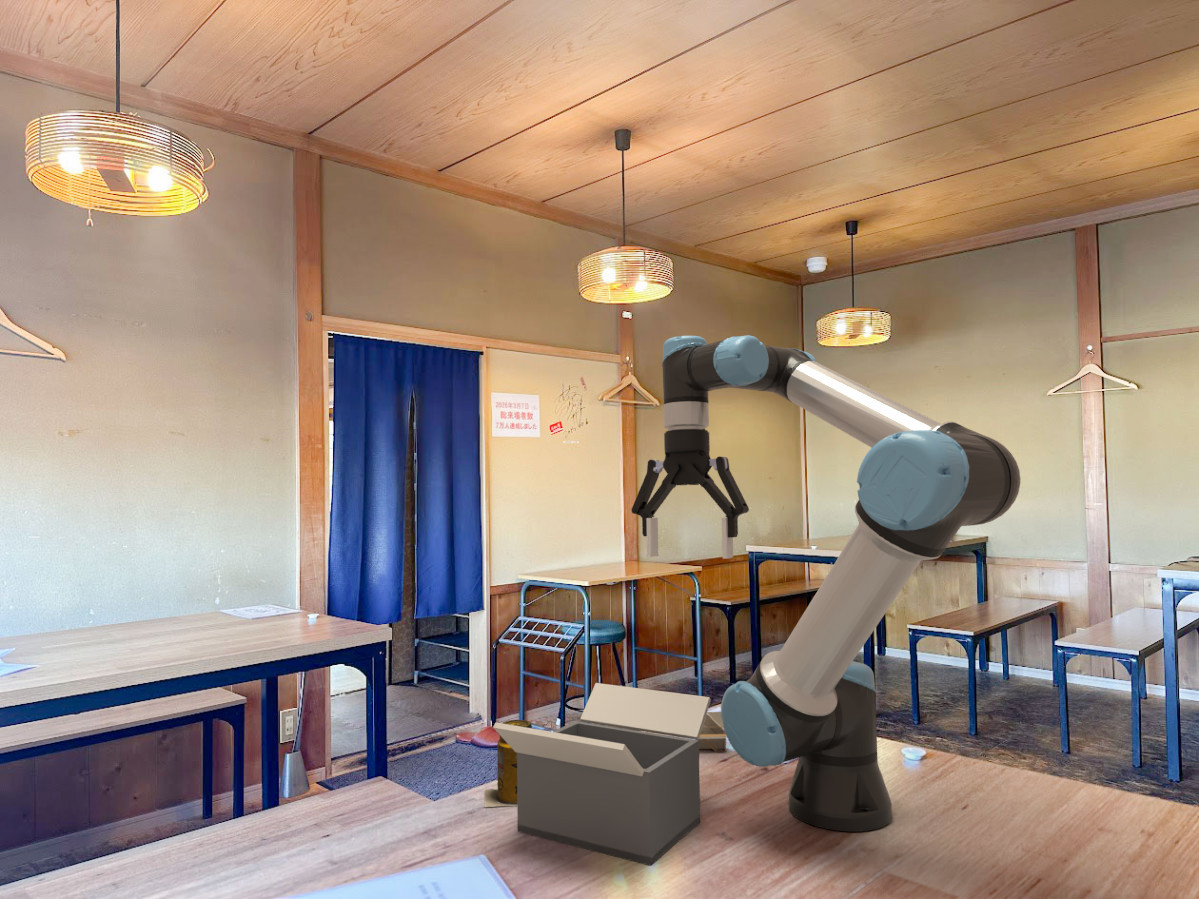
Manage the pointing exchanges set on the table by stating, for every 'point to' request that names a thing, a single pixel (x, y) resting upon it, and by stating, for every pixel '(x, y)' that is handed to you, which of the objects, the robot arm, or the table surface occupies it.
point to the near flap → (570, 748)
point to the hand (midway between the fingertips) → (689, 557)
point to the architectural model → (712, 732)
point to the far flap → (647, 710)
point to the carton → (613, 796)
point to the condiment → (505, 773)
